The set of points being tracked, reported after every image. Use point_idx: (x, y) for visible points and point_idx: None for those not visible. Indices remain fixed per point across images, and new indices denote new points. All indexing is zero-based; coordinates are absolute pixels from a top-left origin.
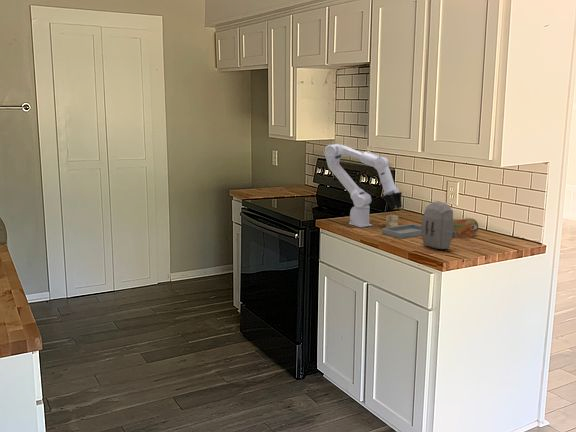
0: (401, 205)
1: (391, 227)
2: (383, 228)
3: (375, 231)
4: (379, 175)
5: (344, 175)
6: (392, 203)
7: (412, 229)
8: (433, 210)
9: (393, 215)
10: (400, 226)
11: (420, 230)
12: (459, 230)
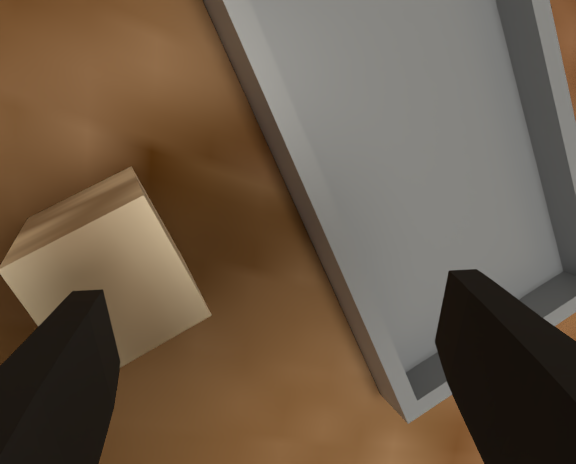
0: (496, 283)
1: (381, 323)
2: (409, 412)
3: (282, 442)
4: None
5: None
6: (63, 425)
7: (303, 25)
8: None
9: (82, 268)
10: (333, 201)
11: (555, 35)
12: None
